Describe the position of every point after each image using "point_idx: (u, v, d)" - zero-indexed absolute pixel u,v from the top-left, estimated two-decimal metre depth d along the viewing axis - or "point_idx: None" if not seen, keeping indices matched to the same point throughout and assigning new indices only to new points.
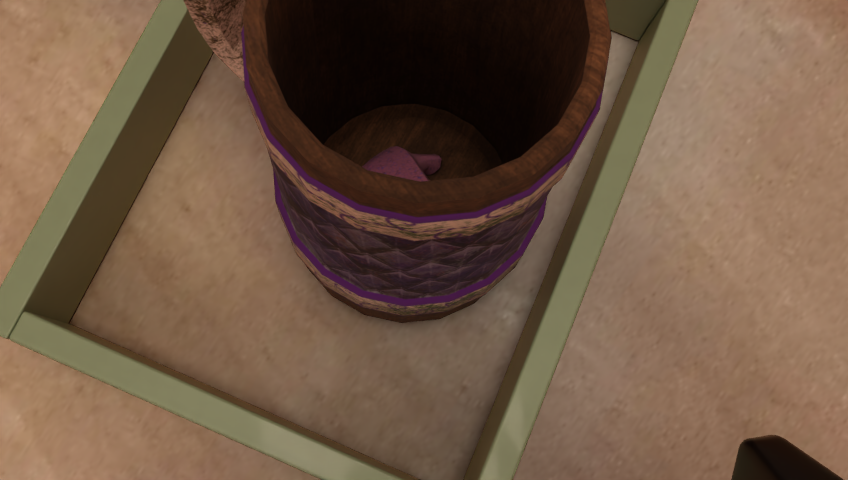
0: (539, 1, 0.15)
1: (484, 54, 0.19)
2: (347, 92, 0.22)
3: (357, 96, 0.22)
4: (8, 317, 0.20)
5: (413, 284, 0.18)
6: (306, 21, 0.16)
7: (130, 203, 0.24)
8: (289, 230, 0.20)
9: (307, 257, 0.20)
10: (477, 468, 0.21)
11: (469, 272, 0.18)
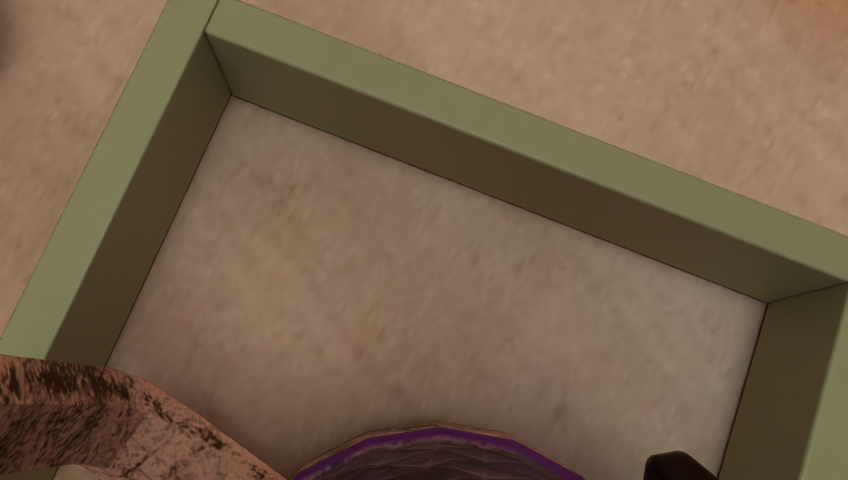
0: None
1: None
2: None
3: None
4: None
5: None
6: None
7: None
8: None
9: None
10: None
11: None
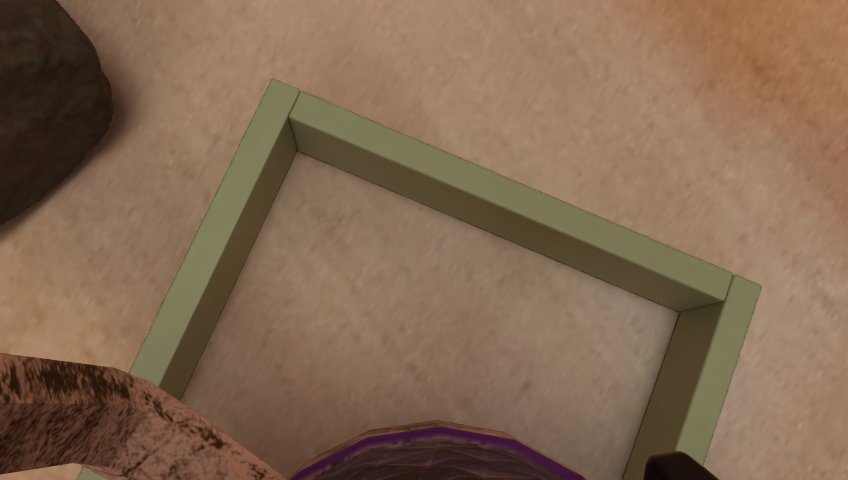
0: None
1: None
2: None
3: None
4: None
5: None
6: None
7: None
8: None
9: None
10: None
11: None
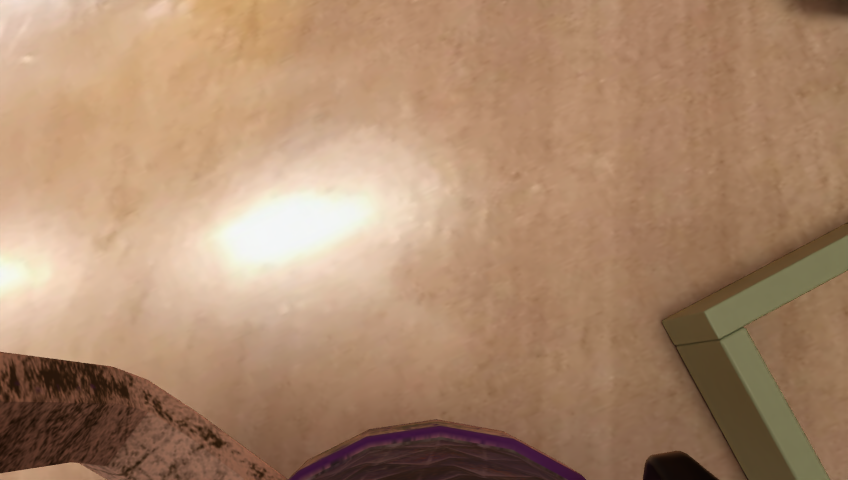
0: None
1: None
2: None
3: None
4: (731, 323, 0.20)
5: None
6: None
7: None
8: None
9: None
10: None
11: None
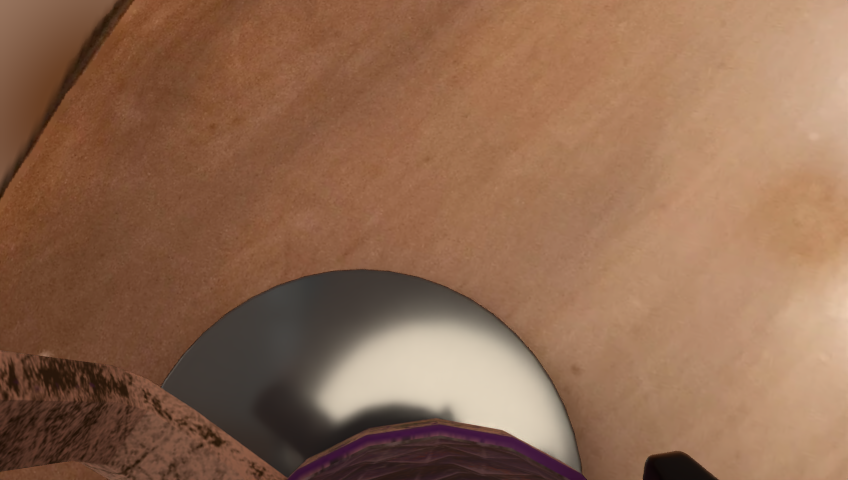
0: None
1: None
2: None
3: None
4: None
5: None
6: None
7: None
8: None
9: None
10: None
11: None
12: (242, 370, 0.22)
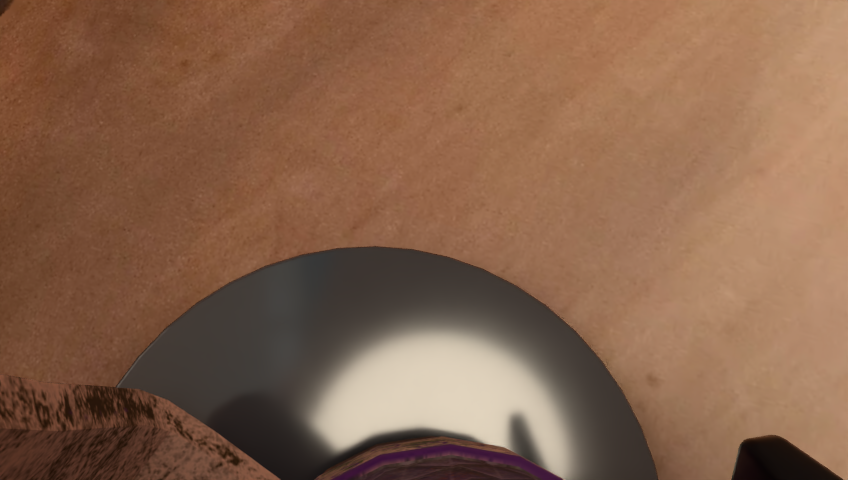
0: None
1: None
2: None
3: None
4: None
5: None
6: None
7: None
8: None
9: None
10: None
11: None
12: (216, 377, 0.16)
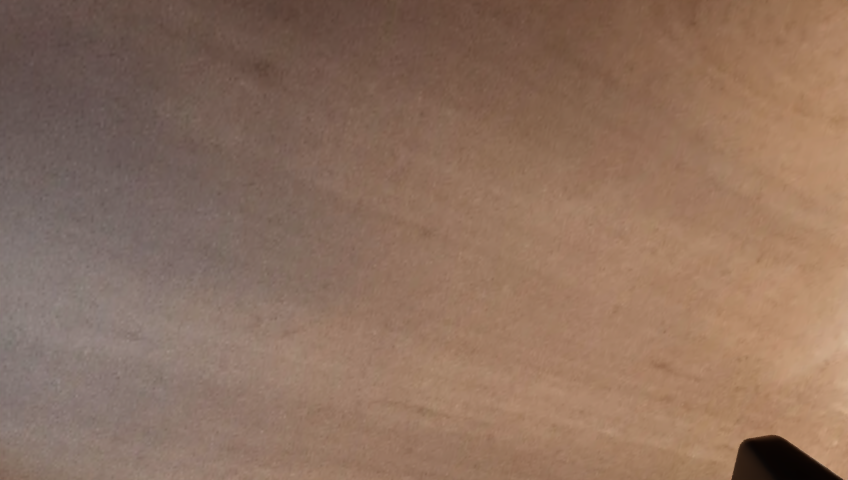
0: None
1: None
2: None
3: None
4: None
5: None
6: None
7: None
8: None
9: None
10: None
11: None
12: None
